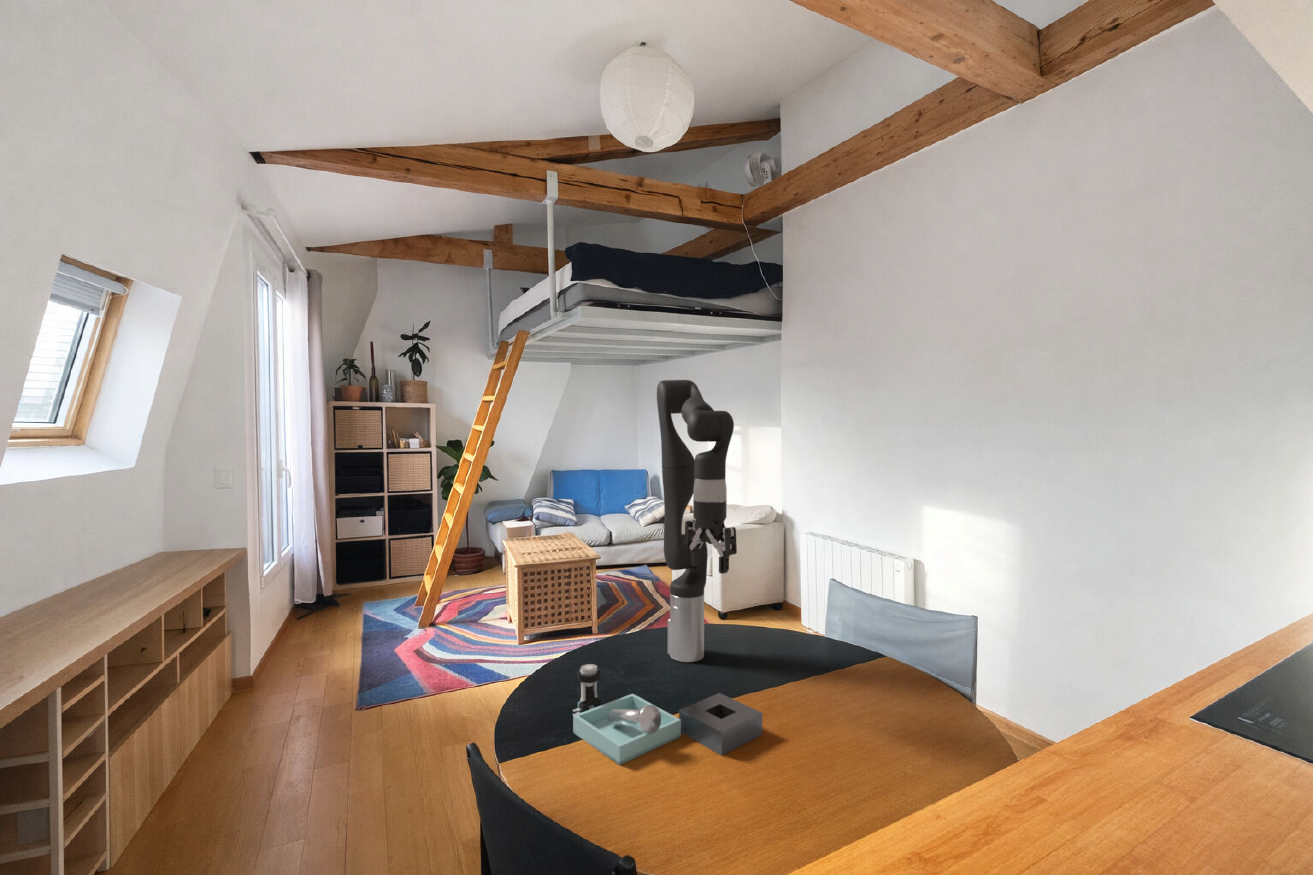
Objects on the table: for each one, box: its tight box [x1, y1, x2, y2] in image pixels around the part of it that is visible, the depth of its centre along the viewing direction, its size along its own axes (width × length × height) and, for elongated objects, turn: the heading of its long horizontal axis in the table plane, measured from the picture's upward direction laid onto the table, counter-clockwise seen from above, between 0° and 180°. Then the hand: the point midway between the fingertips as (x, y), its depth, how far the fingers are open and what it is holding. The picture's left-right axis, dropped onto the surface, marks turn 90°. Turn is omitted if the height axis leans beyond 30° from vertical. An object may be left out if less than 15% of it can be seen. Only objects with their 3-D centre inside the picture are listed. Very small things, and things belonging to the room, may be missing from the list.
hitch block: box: [678, 692, 763, 756], centre depth 125 cm, size 12×12×4 cm
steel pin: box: [608, 704, 661, 733], centre depth 123 cm, size 5×5×12 cm
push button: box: [572, 663, 602, 717], centre depth 134 cm, size 7×5×10 cm
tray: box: [572, 693, 682, 766], centre depth 125 cm, size 16×16×4 cm
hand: (709, 569), depth 139 cm, fingers open, 8 cm apart
